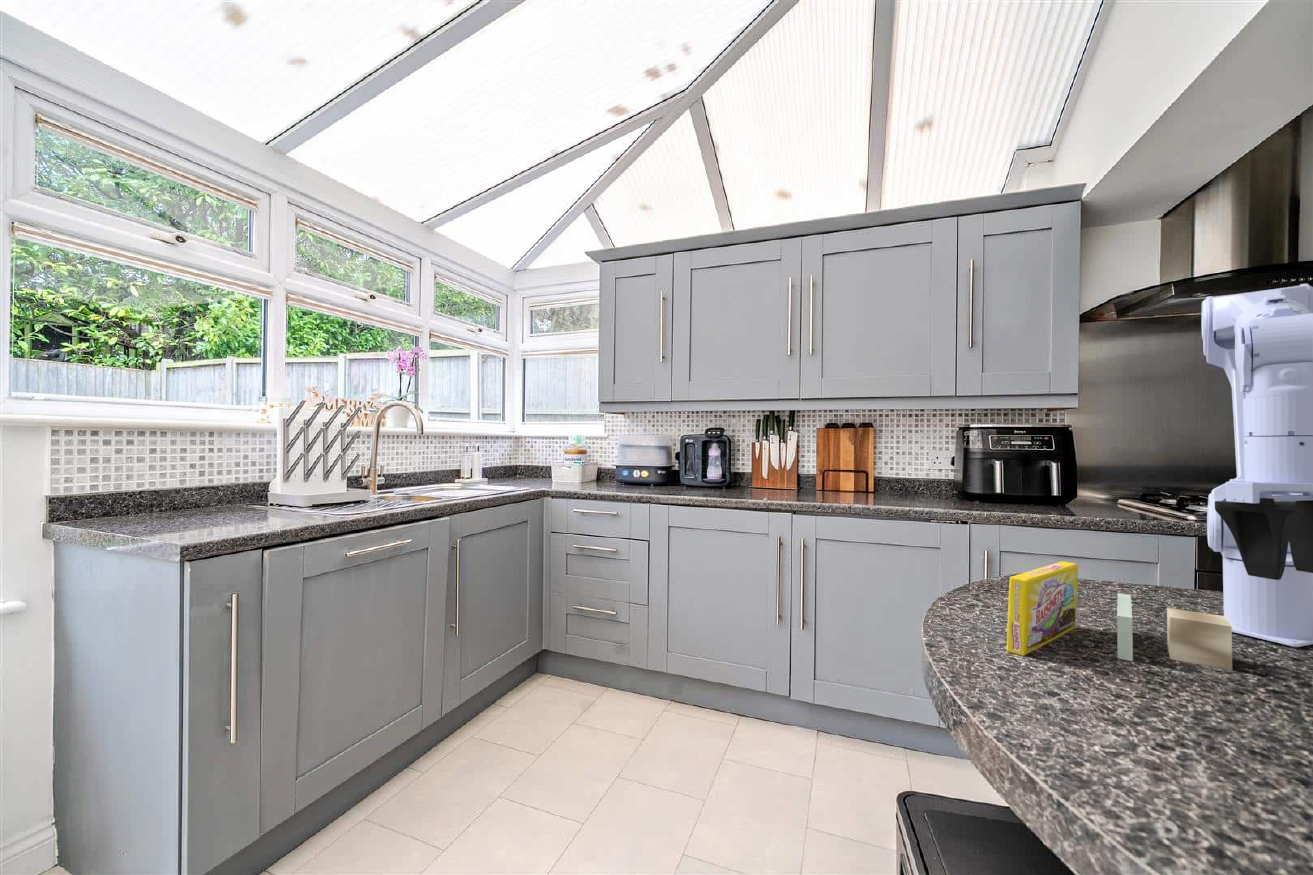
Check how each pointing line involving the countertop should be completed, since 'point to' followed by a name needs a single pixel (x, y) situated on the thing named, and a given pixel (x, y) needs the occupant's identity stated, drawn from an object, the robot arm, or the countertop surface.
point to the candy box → (1041, 606)
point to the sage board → (1124, 627)
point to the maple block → (1199, 638)
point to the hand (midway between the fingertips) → (1288, 575)
